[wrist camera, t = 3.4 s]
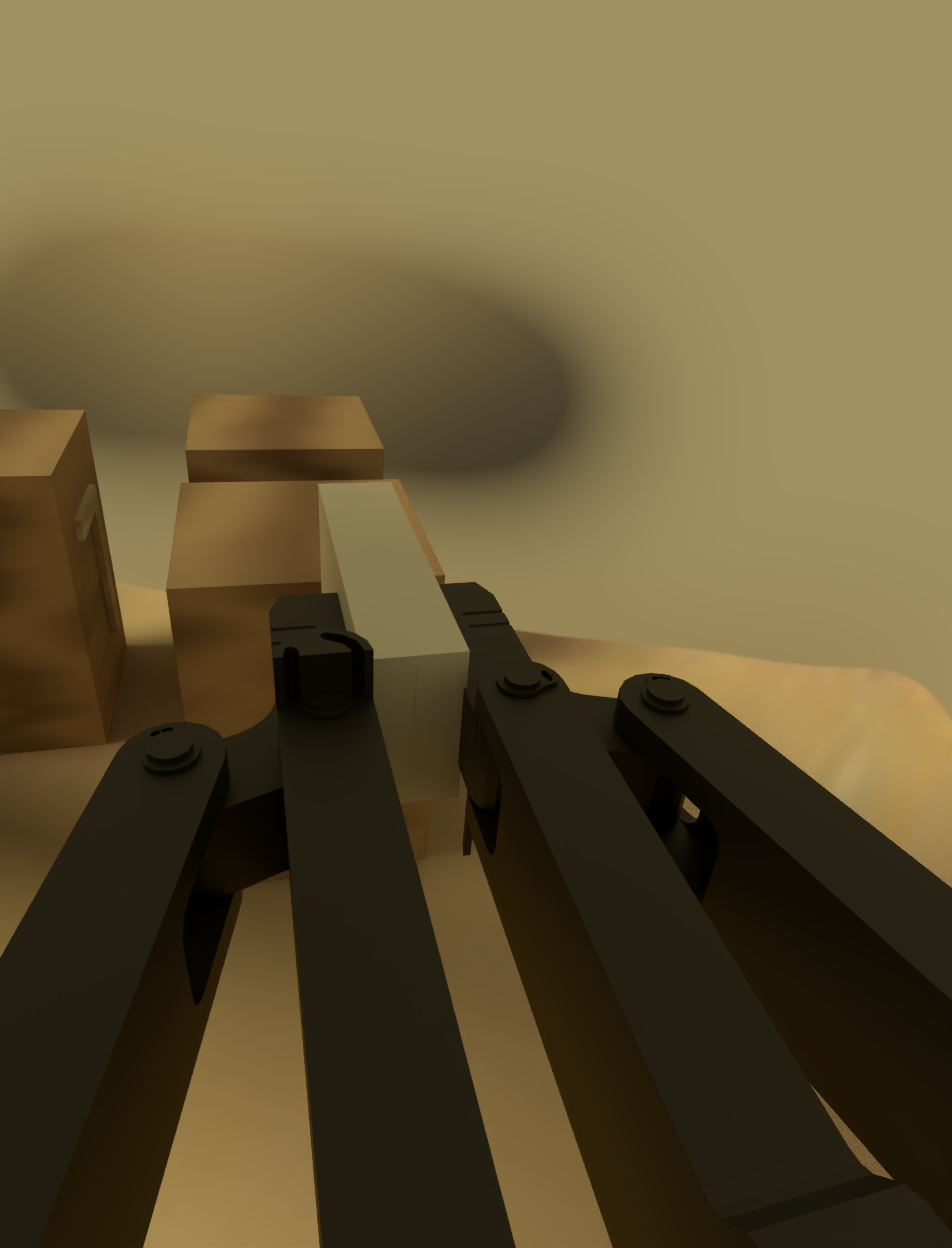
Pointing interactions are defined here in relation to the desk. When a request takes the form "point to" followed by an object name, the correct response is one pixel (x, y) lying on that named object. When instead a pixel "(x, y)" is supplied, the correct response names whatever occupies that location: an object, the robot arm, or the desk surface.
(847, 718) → the desk surface
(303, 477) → the block one
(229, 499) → the plain block
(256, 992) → the desk surface
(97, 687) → the block seven
